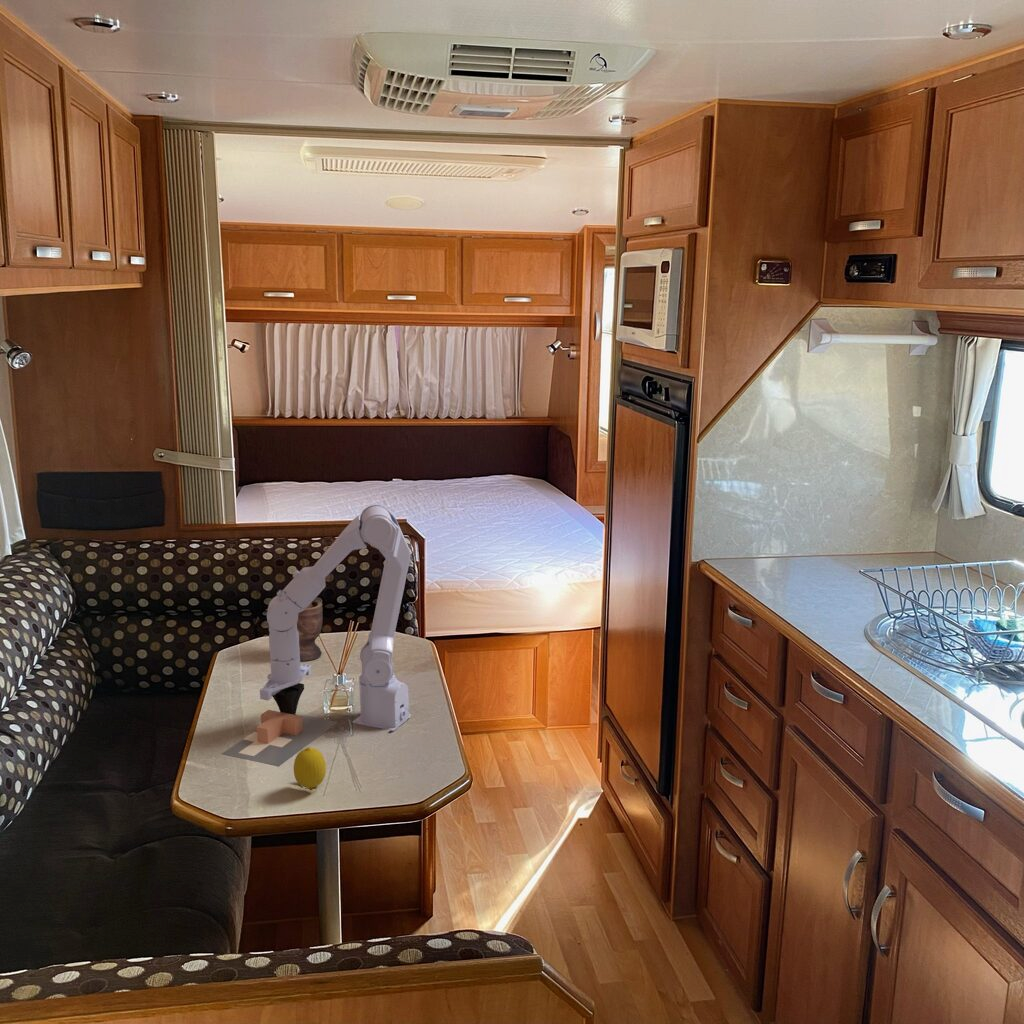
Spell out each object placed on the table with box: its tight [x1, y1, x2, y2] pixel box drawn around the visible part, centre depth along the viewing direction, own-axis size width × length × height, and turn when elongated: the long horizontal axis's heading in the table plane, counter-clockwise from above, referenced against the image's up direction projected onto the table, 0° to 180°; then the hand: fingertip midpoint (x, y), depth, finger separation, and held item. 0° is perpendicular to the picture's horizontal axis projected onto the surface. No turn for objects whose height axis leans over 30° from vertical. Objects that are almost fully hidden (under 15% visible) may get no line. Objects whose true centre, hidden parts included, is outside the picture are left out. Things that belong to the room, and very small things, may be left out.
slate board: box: [221, 713, 339, 767], centre depth 189 cm, size 13×20×1 cm, turn 158°
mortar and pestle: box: [297, 599, 324, 662], centre depth 232 cm, size 12×9×20 cm
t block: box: [256, 709, 303, 744], centre depth 190 cm, size 8×8×3 cm
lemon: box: [293, 746, 327, 791], centre depth 170 cm, size 6×6×8 cm
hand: (288, 719), depth 195 cm, fingers closed
